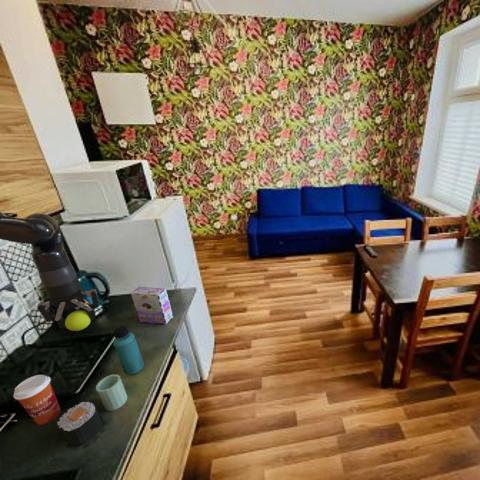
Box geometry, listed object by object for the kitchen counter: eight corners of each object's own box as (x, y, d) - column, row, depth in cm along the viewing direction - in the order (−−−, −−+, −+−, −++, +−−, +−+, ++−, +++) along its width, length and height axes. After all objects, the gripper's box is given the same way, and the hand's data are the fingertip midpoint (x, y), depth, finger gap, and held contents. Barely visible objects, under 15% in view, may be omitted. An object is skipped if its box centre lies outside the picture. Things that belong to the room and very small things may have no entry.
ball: (64, 337, 84) (56, 320, 82) (74, 323, 90) (68, 308, 87) (88, 333, 86) (81, 317, 83) (97, 320, 91) (91, 305, 89)
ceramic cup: (101, 413, 85) (92, 393, 81) (109, 395, 90) (101, 376, 87) (123, 408, 86) (115, 388, 83) (130, 391, 92) (123, 372, 88)
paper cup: (32, 434, 79) (11, 401, 73) (30, 416, 83) (11, 384, 78) (67, 414, 84) (50, 383, 79) (63, 399, 89) (47, 368, 83)
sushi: (91, 413, 85) (83, 396, 81) (108, 424, 82) (100, 406, 78) (60, 438, 78) (50, 420, 75) (78, 451, 75) (68, 433, 72)
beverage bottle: (149, 365, 102) (136, 323, 94) (135, 380, 96) (120, 337, 88) (134, 362, 103) (120, 321, 95) (120, 377, 97) (103, 334, 89)
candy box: (174, 317, 128) (166, 288, 121) (166, 325, 122) (158, 295, 116) (147, 314, 129) (139, 285, 123) (138, 322, 124) (129, 292, 117)
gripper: (90, 267, 87) (106, 309, 94) (29, 281, 79) (51, 326, 86) (90, 277, 82) (106, 320, 88) (23, 293, 74) (47, 339, 80)
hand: (79, 323), depth 87 cm, fingers closed on ball, 6 cm apart
